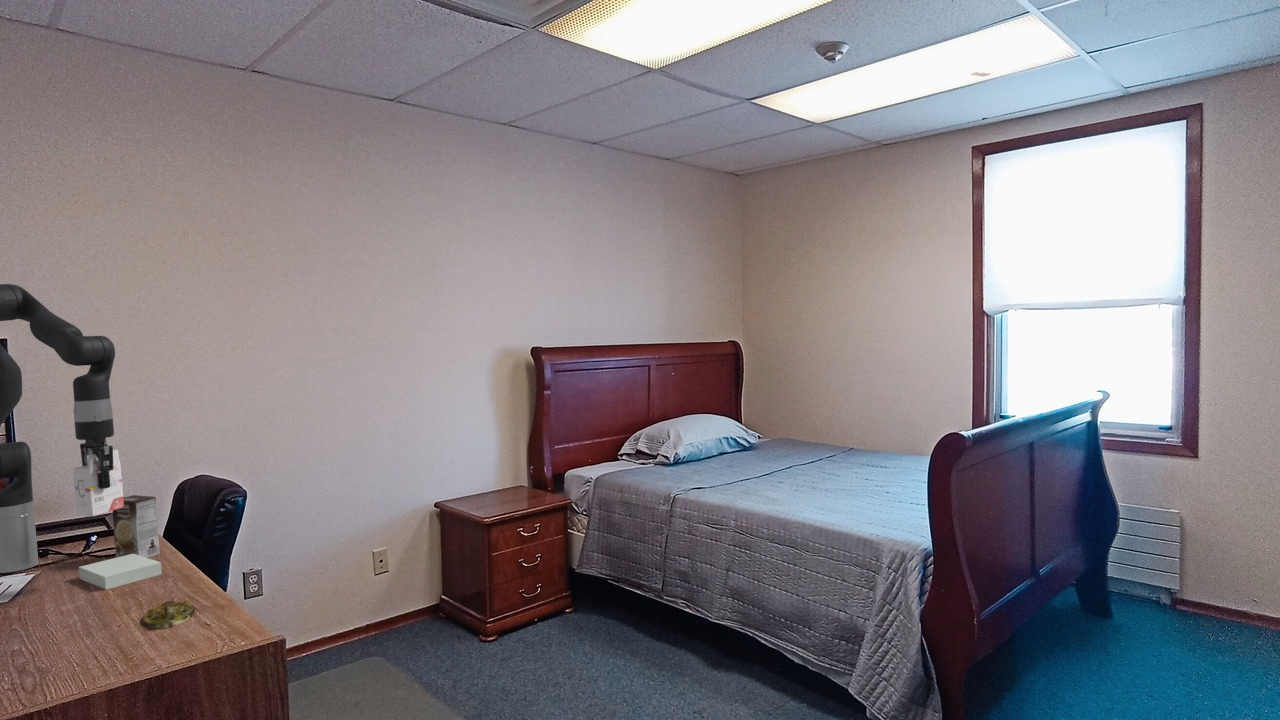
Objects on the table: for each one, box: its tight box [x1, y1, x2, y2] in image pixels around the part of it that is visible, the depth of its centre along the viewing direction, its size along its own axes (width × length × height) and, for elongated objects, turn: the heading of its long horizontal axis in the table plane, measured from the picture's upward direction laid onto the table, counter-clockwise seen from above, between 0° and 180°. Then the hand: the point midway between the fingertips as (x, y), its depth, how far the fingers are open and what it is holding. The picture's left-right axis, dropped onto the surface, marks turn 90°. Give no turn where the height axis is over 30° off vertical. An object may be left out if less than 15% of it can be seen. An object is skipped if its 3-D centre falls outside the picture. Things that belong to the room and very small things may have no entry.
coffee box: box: [112, 494, 160, 559], centre depth 201 cm, size 9×6×16 cm
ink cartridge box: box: [72, 449, 124, 517], centre depth 180 cm, size 9×5×15 cm, turn 166°
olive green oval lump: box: [142, 600, 196, 629], centre depth 156 cm, size 9×5×15 cm
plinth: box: [78, 554, 163, 590], centre depth 184 cm, size 16×12×3 cm
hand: (99, 486), depth 180 cm, fingers closed on ink cartridge box, 6 cm apart
